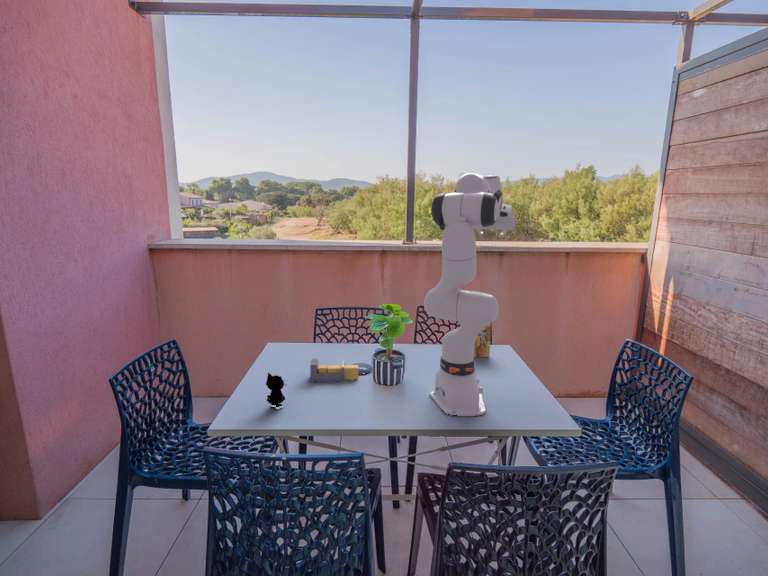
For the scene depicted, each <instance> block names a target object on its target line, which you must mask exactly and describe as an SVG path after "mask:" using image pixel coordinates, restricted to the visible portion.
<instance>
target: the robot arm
mask: <svg viewBox="0 0 768 576" xmlns="http://www.w3.org/2000/svg"><path fill="white" fill-rule="evenodd" d="M430 211H431V212H430V213H431V218H432V221H434V223H435V224H436V225H437V226H438V227H439V229H440V230H441V231H443V234H442V241H441V260H442V261H441V262H442V263H441V269H442V270H441V275H440V280H439V282H438V283H437V284H436V286H434V287H433V288H431V289H430V290H429V291H427V293H426V294H425V297H424V299H423V306H424V310H425V312H426V314H427V315H428V316H430V317H433V318H435V319H440V320H447V321H452V322H453V321H454V322H458V323H459V324H460V326H459V327H458V328H454V329H452V330H449V331H448V332H446V333H445V334H444V335H443V337H442V345H441V347H442V348H441V349H442V350H441V356H440V360H439V367H440V368H439V370H438V371H437V372H435V379H434V389H433V390H432V391H430V392H429V397H430V398H431V399H432V400H433V401H434V403H436V405H437V406H438V407H439V408H440V409H441V411H442V410H443V411H444V412H443V411H442V412H443V413H444V414H445V413H446V414H445V415H448V414H450V415H449V416H452V415H457V416H456V417H475V416H476V415H477V416H481V415H484V414H486V413H487V412H486V411H487V410H486V406H485V403H484V399H483V396H482V394H484V387H483V386H479V385H478V384H479V383H480V379H477V372H476V371H475V367H476V364H475V358H473V355H474V346H475V341H476V338H477V335H478V334H479V332H480V331H481V330H482V329H483V328H484V327H485V326H486V325H488V324H492V323H493V322H494V321H495V319H496V318H497V317H498V314H499V309H500V306H499V303H498V300H497V298H496V297H495V296H494V295H492V294H490V293H485V292H482V291H477V290H476V291H475V290H465V289H464V290H463V289H461V288H460V287H463V286H465V285H467V284H469V283H471V282H472V281H474V279H475V277H477V242H476V241H477V240H476V234H475V231H474V230H476V232H477V233H478V235H479V238H481V237H482V238H483V237H484V231H482V230H495V231H496V230H500V231H502V232H500V234H499V237H500V238H502V239H503V238H505V233H506V232H507V231H513V230H514V229H515V227H516V226H515V225H516V220H515V219H516V218H515V215H514V212H513V206H511V205H510V204H505V203H503V192H502V184H501V177H500V176H499V175H498V174H493V173H492V174H484V175H480V174H479V173H478V174H477V173H473V172H472V173H471V172H469V173H465V174H463V175H461V176H460V177H459V179H458V180H457V181H456V184H455V189H454V192H451V193H447V192H444V193H439V194H437V195H436V196H434V198H433V199H432V203H431V208H430ZM477 416H476V417H477Z"/></svg>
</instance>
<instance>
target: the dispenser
mask: <svg viewBox="0 0 768 576" xmlns="http://www.w3.org/2000/svg"><path fill="white" fill-rule="evenodd" d="M309 365H310V366H309V368H310V375H309V376H310V382H311V381H343V382H345V380H344V365H345V360H342V361H341V365H342V373H328V372H327V368H328V365H327V364H319V358H311V361H310V364H309Z"/></svg>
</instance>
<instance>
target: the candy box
mask: <svg viewBox="0 0 768 576" xmlns="http://www.w3.org/2000/svg"><path fill="white" fill-rule="evenodd" d="M492 327H493V325H492V323H490V324H488V325H486V326H485V327H484V328H483V329H482V330H481V331H480V332H479V334H478V335H477V338H476V341H475V346H474V355H473V359H476V357H477V358H488V357H489V358H490V353H491V352H490V351H491V340H492V339H491V338H492Z"/></svg>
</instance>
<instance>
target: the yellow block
mask: <svg viewBox="0 0 768 576" xmlns="http://www.w3.org/2000/svg"><path fill="white" fill-rule="evenodd" d="M327 372H328V373H342V364H329V365H327ZM344 379H358V380H359V375H358V365H352V364H344Z"/></svg>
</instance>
